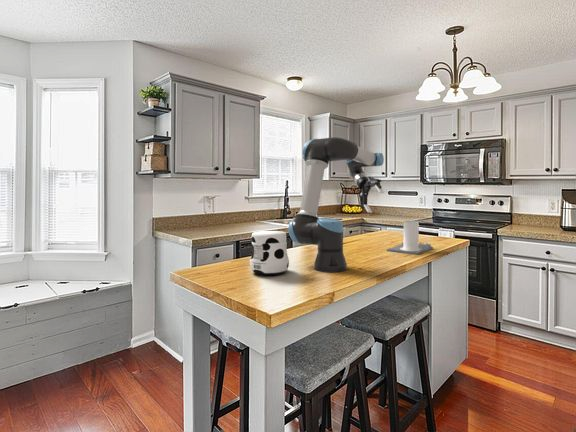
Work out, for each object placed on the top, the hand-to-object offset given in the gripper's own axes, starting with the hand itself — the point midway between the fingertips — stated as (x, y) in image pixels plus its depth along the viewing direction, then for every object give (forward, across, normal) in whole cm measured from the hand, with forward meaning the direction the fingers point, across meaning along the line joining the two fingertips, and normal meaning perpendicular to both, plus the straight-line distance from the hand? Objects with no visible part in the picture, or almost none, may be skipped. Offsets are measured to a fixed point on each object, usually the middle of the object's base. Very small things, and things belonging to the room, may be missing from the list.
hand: (375, 202), depth 192 cm
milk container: (+37, +27, +58) cm, 74 cm away
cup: (+12, +18, -30) cm, 37 cm away
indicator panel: (+9, +21, -32) cm, 40 cm away
